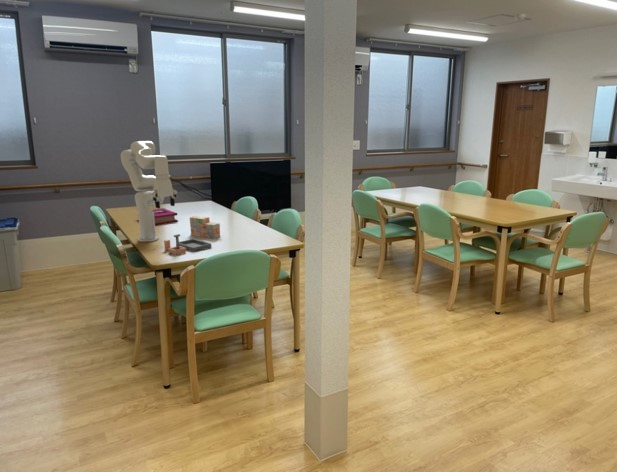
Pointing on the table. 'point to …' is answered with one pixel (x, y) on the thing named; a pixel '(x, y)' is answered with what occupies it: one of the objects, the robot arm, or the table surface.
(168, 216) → the book
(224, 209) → the table surface
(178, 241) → the stake
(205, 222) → the stack of blocks
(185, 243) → the tray
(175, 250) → the orange scoop
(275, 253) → the table surface
